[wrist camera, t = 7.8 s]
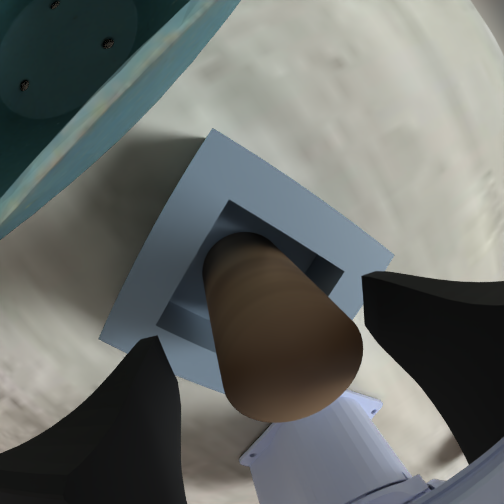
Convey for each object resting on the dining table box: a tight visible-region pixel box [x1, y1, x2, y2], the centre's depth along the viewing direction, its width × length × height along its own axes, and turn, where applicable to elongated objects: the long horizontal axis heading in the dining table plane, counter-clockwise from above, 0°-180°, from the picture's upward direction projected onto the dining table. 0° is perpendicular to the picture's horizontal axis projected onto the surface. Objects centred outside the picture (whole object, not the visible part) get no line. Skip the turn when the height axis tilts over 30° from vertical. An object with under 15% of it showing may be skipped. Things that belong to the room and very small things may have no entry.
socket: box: [99, 128, 394, 394], centre depth 15 cm, size 10×10×4 cm
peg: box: [202, 232, 363, 423], centre depth 12 cm, size 4×4×8 cm
